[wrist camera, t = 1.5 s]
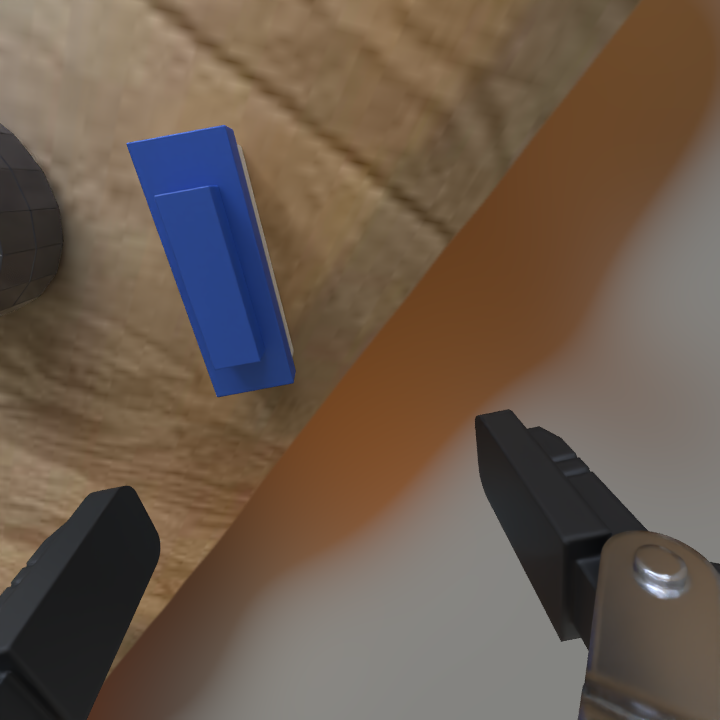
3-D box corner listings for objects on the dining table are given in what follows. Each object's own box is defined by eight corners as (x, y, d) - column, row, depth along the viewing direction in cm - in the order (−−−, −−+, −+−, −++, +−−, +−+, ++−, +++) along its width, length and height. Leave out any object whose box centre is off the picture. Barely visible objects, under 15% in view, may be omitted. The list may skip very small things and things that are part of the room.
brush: (159, 150, 23) (106, 138, 17) (242, 135, 23) (215, 118, 17) (231, 369, 29) (209, 412, 23) (298, 357, 29) (291, 397, 23)
